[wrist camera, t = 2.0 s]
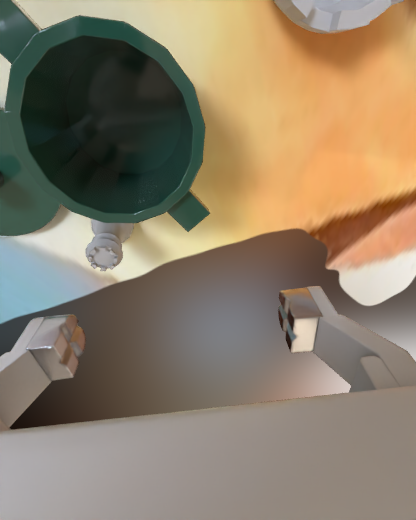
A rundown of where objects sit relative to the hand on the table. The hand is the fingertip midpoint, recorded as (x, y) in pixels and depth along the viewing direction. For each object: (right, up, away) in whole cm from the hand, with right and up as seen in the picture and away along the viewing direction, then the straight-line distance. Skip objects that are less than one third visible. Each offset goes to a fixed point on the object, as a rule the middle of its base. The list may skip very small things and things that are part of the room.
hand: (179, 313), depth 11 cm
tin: (-6, +15, +15) cm, 22 cm away
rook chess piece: (-10, +7, +20) cm, 23 cm away
